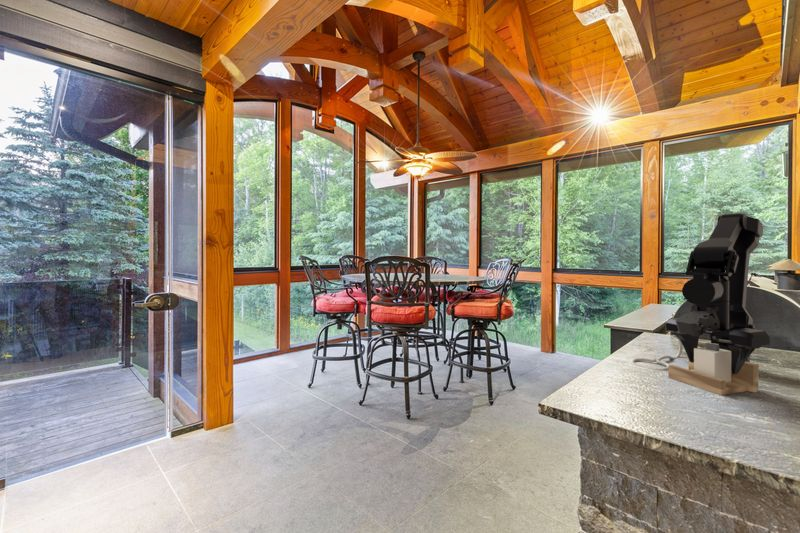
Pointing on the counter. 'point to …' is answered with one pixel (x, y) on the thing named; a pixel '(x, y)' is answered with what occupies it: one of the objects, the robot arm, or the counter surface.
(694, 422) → the counter surface
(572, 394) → the counter surface
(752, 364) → the board
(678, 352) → the hook
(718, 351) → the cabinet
